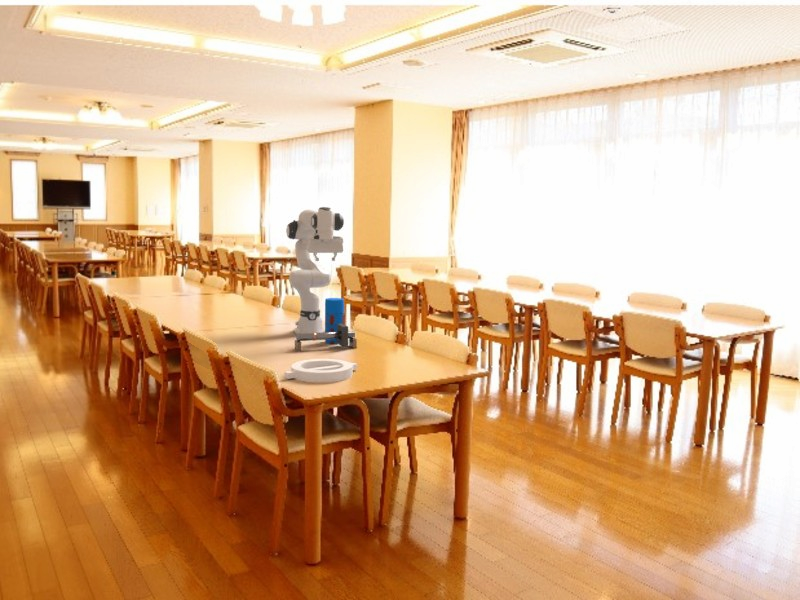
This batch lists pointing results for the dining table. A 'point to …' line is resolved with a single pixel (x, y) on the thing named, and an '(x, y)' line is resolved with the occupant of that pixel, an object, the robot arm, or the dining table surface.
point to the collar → (343, 335)
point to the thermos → (333, 316)
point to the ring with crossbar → (321, 370)
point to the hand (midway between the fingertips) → (325, 260)
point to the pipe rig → (324, 338)
